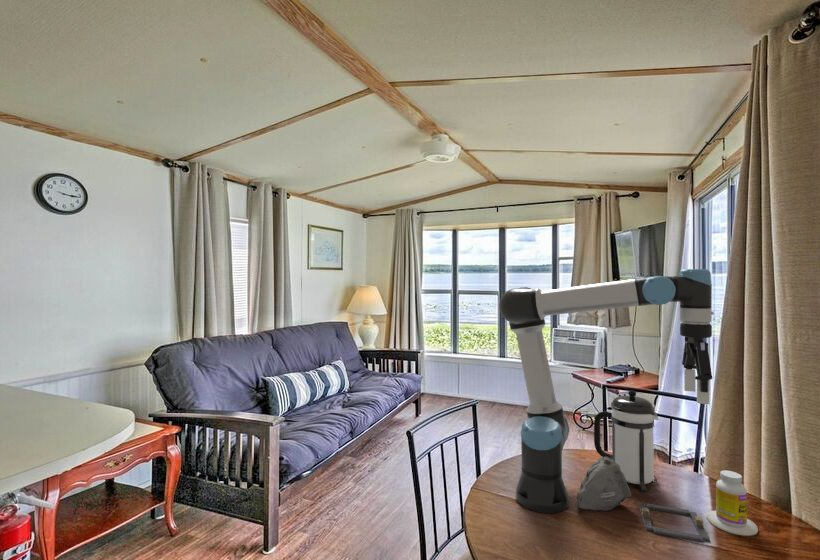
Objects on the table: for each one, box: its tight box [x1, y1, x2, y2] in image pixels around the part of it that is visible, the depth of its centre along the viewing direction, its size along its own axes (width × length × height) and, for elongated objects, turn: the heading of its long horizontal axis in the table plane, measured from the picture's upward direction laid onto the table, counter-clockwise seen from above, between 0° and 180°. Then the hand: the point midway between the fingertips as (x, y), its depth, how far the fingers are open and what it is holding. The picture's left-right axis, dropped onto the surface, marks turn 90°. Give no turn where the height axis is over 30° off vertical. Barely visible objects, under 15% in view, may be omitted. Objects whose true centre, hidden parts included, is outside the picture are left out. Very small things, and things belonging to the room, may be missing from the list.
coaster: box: [706, 509, 759, 537], centre depth 114 cm, size 11×11×1 cm
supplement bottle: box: [715, 469, 748, 527], centre depth 114 cm, size 7×7×13 cm
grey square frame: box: [638, 502, 711, 543], centre depth 115 cm, size 14×14×2 cm
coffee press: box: [593, 389, 660, 493], centre depth 139 cm, size 17×16×30 cm
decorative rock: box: [576, 456, 632, 512], centre depth 122 cm, size 16×7×15 cm, turn 93°
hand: (696, 397), depth 120 cm, fingers open, 13 cm apart
